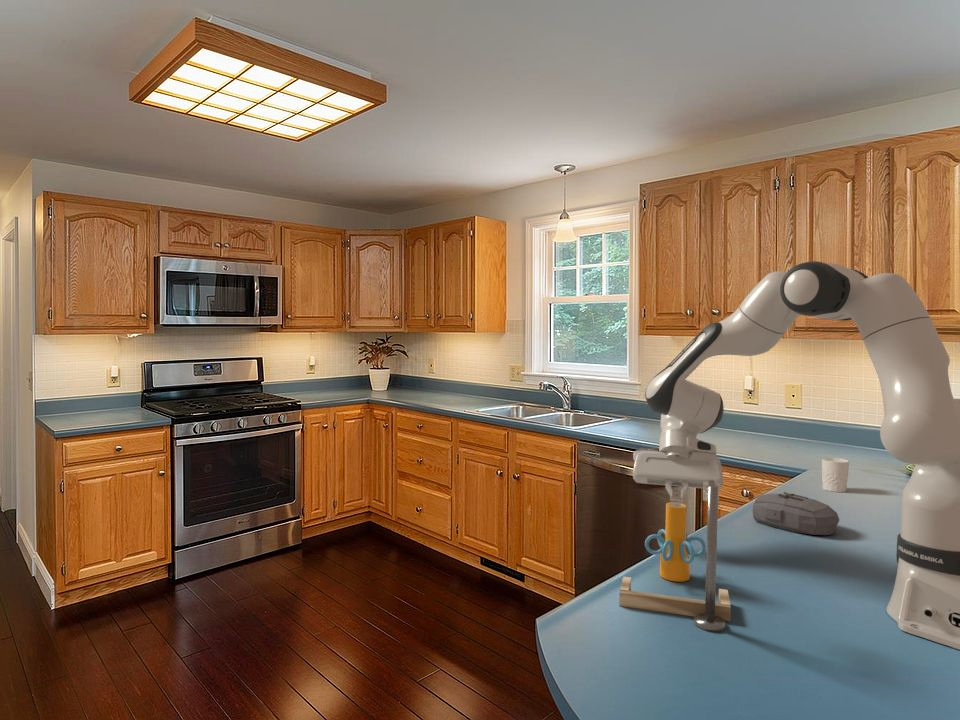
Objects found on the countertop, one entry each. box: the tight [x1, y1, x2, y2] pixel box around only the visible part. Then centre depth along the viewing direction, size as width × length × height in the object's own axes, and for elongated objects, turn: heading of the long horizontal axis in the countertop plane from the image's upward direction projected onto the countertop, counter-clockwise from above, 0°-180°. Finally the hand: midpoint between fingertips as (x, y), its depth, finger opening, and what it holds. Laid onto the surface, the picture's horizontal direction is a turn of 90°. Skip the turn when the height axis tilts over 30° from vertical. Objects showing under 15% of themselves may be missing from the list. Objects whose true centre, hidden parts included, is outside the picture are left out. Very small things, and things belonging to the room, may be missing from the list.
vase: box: [644, 501, 707, 583], centre depth 127 cm, size 12×10×15 cm
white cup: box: [821, 457, 850, 493], centre depth 203 cm, size 8×8×10 cm
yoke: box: [618, 576, 732, 622], centre depth 114 cm, size 8×19×2 cm, turn 72°
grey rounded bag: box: [752, 491, 840, 536], centre depth 163 cm, size 15×8×20 cm
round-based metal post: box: [693, 480, 726, 633], centre depth 108 cm, size 11×5×24 cm, turn 162°
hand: (676, 500), depth 142 cm, fingers closed
